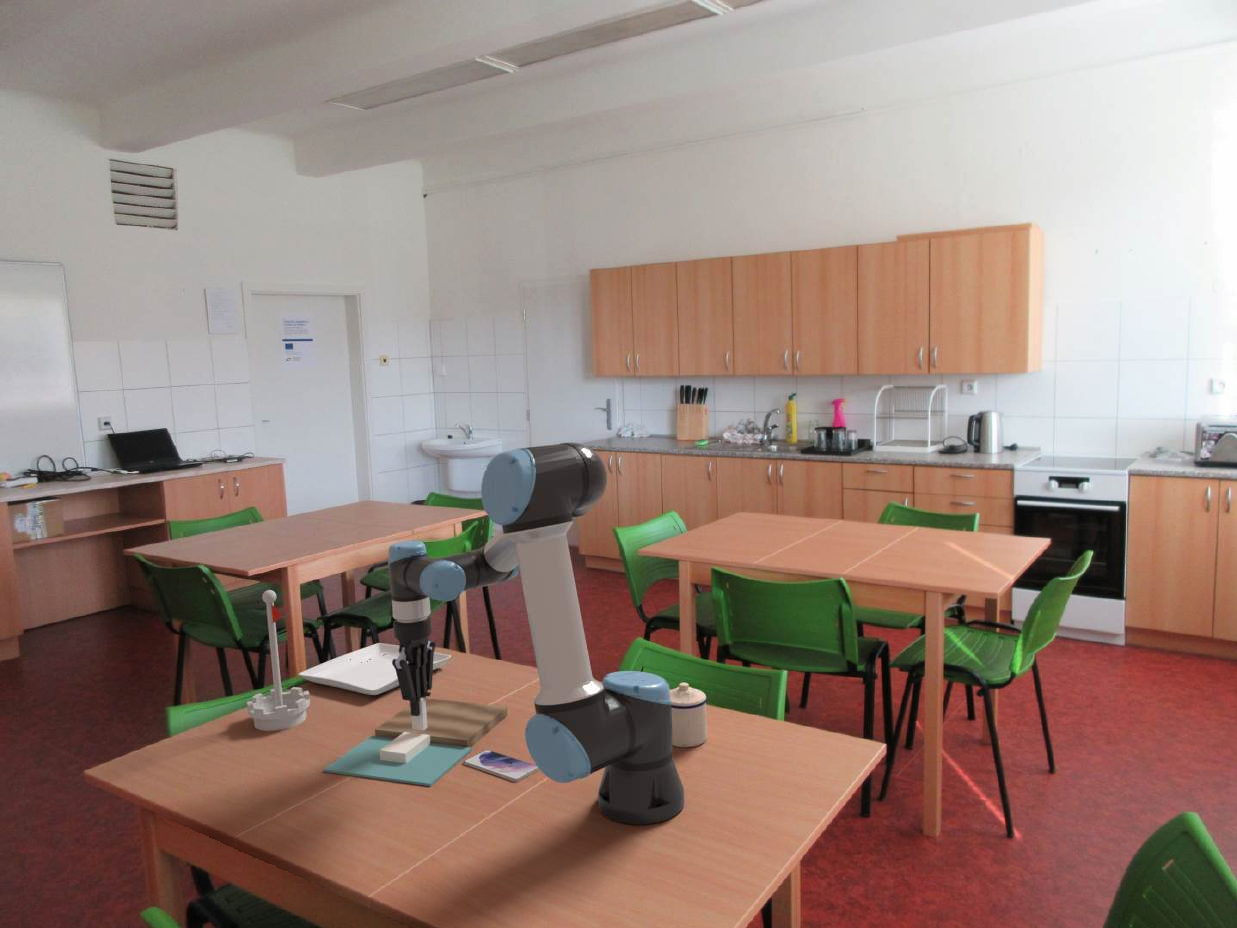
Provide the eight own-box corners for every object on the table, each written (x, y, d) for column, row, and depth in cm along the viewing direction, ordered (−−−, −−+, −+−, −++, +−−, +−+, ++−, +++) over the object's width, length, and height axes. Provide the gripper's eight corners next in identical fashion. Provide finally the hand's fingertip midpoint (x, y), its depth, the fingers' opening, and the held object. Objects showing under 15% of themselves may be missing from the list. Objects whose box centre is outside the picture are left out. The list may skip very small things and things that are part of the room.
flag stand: (238, 723, 206) (225, 592, 202) (293, 704, 215) (281, 579, 211) (266, 737, 197) (253, 601, 193) (322, 718, 206) (310, 588, 203)
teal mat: (430, 786, 171) (430, 783, 171) (323, 771, 180) (323, 769, 179) (472, 749, 186) (472, 747, 186) (371, 737, 194) (371, 735, 194)
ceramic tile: (406, 763, 180) (405, 753, 180) (380, 759, 182) (379, 750, 182) (430, 744, 189) (429, 734, 189) (405, 741, 191) (404, 731, 191)
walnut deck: (467, 749, 187) (467, 740, 186) (375, 738, 194) (374, 729, 194) (507, 715, 203) (507, 706, 203) (421, 706, 211) (420, 697, 211)
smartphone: (486, 748, 186) (541, 766, 177) (486, 752, 186) (542, 770, 177) (460, 761, 180) (516, 780, 171) (460, 765, 180) (516, 784, 171)
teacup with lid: (715, 734, 189) (714, 680, 187) (694, 752, 181) (692, 695, 180) (665, 723, 195) (663, 670, 194) (642, 740, 188) (640, 685, 186)
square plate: (454, 668, 237) (453, 653, 236) (374, 705, 214) (373, 689, 213) (379, 653, 251) (378, 639, 251) (297, 686, 228) (295, 671, 228)
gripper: (413, 607, 194) (421, 714, 197) (377, 625, 182) (386, 739, 185) (444, 609, 192) (452, 717, 195) (410, 628, 180) (418, 743, 183)
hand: (420, 728), depth 190 cm, fingers closed
